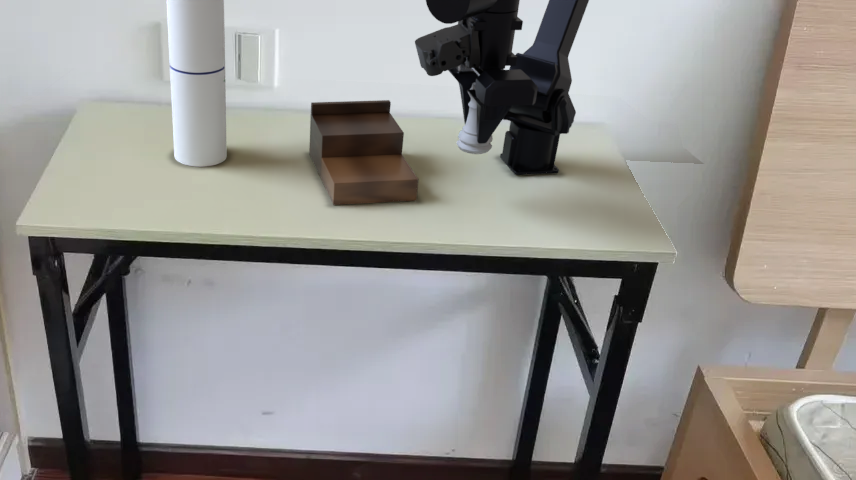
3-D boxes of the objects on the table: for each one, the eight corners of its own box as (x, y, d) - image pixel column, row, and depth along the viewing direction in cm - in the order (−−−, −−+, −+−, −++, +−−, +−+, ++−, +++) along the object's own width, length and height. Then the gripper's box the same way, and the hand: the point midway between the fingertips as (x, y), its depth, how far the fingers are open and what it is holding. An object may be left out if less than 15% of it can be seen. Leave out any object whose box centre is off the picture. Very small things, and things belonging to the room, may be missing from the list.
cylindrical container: (164, 160, 131) (153, -34, 116) (190, 141, 136) (182, -46, 122) (211, 170, 129) (205, -26, 114) (235, 151, 134) (233, -38, 120)
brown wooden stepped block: (385, 151, 137) (389, 99, 133) (416, 200, 124) (422, 145, 120) (309, 154, 135) (310, 102, 130) (333, 205, 122) (336, 149, 118)
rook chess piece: (454, 140, 122) (462, 78, 118) (489, 142, 122) (499, 80, 118) (457, 154, 119) (465, 90, 114) (493, 156, 119) (503, 92, 114)
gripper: (404, -15, 116) (393, 110, 125) (451, 32, 102) (435, 169, 111) (491, -16, 119) (474, 107, 128) (550, 30, 104) (526, 165, 113)
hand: (475, 135), depth 120 cm, fingers closed on rook chess piece, 4 cm apart
